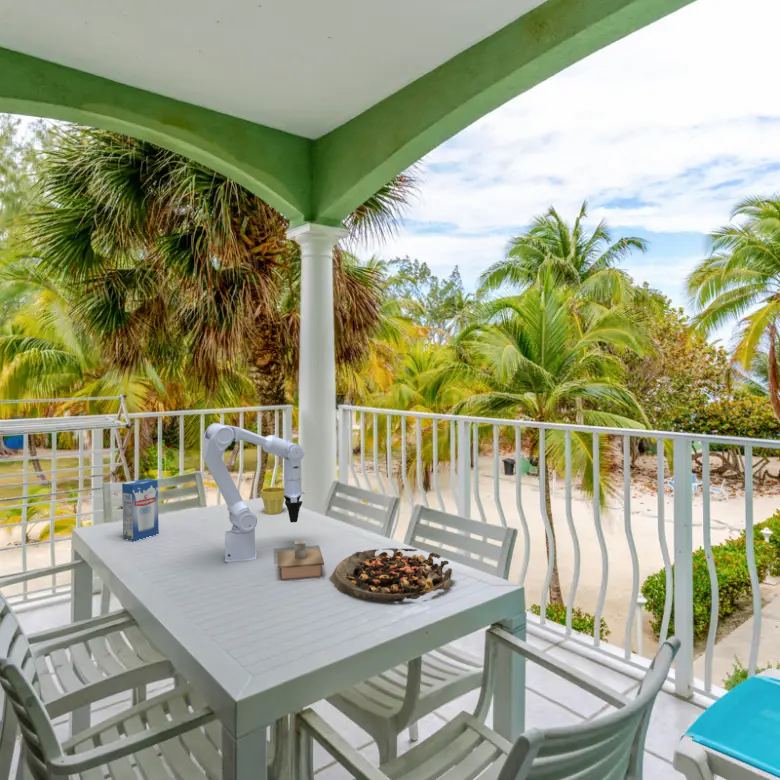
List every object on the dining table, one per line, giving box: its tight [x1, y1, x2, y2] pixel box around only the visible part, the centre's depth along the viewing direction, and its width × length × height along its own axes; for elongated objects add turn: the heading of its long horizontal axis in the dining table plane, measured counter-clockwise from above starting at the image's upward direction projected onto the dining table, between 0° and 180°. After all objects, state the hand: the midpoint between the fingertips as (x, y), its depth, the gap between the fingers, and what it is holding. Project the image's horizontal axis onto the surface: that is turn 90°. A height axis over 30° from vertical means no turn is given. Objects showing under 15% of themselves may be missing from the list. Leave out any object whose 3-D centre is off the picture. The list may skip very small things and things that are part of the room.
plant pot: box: [260, 486, 285, 515], centre depth 233 cm, size 10×10×10 cm
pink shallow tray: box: [280, 565, 322, 582], centre depth 165 cm, size 11×11×4 cm
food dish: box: [328, 547, 453, 602], centre depth 159 cm, size 35×33×8 cm
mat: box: [273, 544, 321, 565], centre depth 179 cm, size 15×15×1 cm
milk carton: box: [121, 478, 160, 542], centre depth 200 cm, size 10×6×20 cm, turn 148°
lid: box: [277, 539, 325, 569], centre depth 165 cm, size 13×13×5 cm
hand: (293, 519), depth 187 cm, fingers open, 7 cm apart
